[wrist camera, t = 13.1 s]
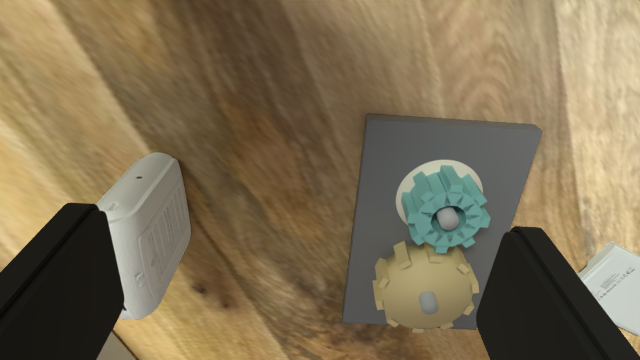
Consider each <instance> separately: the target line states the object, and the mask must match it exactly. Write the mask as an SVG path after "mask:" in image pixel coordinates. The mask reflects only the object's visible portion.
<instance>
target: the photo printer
mask: <svg viewBox="0 0 640 360" xmlns="http://www.w3.org/2000/svg"><path fill="white" fill-rule="evenodd" d="M96 205H97V206H98V208H99V210H100V211H104V212H105V213H106V215H107V219H108V224H109V228H110V233H111V237H112V242H113V246H114V251H115V256H116V260H117V265H118V269H119V274H120V278H121V283H122V288H123V292H124V306H123V310H122V312H121V314H120V316H119V317H120V318H121V319H123V320H124V319H135V320H139V319H141V318H144V317H146V316H148V315H149V314H151V313H152V312H153V311H154V310H155V309H156V308H157V307H158V306H159V304H160V302H161V300H162V298H163V296H164V294H165V292H166V290H167V288H168V286H169V284H170V281H171V279H172V277H173V275H174V273H175V271H176V269H177V267H178V265H179V263H180V261H181V258H182V256H183V254H184V252H185V250H186V248H187V246H188V244H189V242H190V237H191V225H190V217H189V211H188V205H187V199H186V194H185V188H184V182H183V178H182V173H181V169H180V166H179V163H178V161H177V159H175V158H173V157H172V156H170V155H168V154H165V153H161V152H154V153H150V154H148V155H146V156H145V157H144V158H139V159H138V160H137V161H136V162H135V163H134V164H133V165H132V166H131V167H130V168H129V169H128V170H127V171H126V172H125V173H124V174H123V175H122V176H121V178H120V179H119V180H118V181H117V182H116V183H115V184H114V185H113V186H112V187H111V188H110V190H109V191H108V192H107V193H106V194H105V195H104V196H103V197H102V198H101V199H100V200H99V202H98V203H97V204H96Z"/></svg>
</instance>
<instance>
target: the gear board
mask: <svg viewBox="0 0 640 360" xmlns="http://www.w3.org/2000/svg"><path fill="white" fill-rule="evenodd" d="M541 134H542V130H541V129H540V128H538V127H537V126H536V125H532V124H517V123H502V122H487V121H472V120H456V119H441V118H426V117H411V116H395V115H380V114H366V122H365V130H364V138H363V146H362V154H361V163H360V171H359V179H358V187H357V196H356V204H355V212H354V220H353V228H352V237H351V245H350V253H349V261H348V269H347V278H346V286H345V294H344V302H343V311H342V317H343V322H346V323H364V324H381V325H392V326H393V327H397V326H398V325H399V326H405V327H409V328H411V330H412V333H424V330H425V329H431V328H441V329H442V330H445V329H447V328H452V329H469V330H476V328H477V323H476V313H477V310H478V307H479V304H480V301H481V298H482V295H483V292H484V289H485V286H486V283H487V280H488V277H489V275H490V272H491V269H492V266H493V263H494V260H495V257H496V254H497V251H498V248H499V245H500V242H501V239H502V237H503V235H504V233H505V232H509V230H510V227H511V224H512V221H513V218H514V215H515V212H516V209H517V206H518V203H519V200H520V197H521V194H522V191H523V188H524V185H525V182H526V179H527V176H528V173H529V170H530V167H531V164H532V161H533V158H534V155H535V152H536V149H537V146H538V143H539V140H540V137H541ZM441 165H450V166H453V168H454V170H455V171H456V173H457V175H458V176H459V177H461V178H462V177H464V176H465V175H467V174H468V173H469V175H470V176H471V177H472V178H473V179H474V181H475V182H476V184H477V185H478V187H479V189H480V190H481V192H482V193H483V195H484V197H485V198H486V200H487V202H486V203H484V204H483V206H484V208H485V209H486V211H487V213H488V214H489V216H490V218H491V219H490V222H489V225H488V228H485V227H480V228H479V229H478V231H477V232H476V233H475V234H474V235H473V238H474V240H475V243H474V244H472V245H471V246H469V247H467V248H465V247H464V246H463V244H462V243H461V244H458V245H455V246H453V247H451V246H450V247H448V249H447V253H435V251H434V248H433V245H431V244H429V243H427V242H426V241H425V242H423V243H422V244H420V245H419V246H418V245H417V244H416V243H415V241H414V240H413V239H412V237H411V234H410V231H409V227H408V224H407V221H406V217H405V214H404V210H403V207H402V204H401V197H402V192H410V191H411V189H412V188H413V187H414V186H415V182H414V180H413V176H415V175H416V174H418V173H419V172H420V171H422V172H423V173H424V174H425V175H426V176H428V175H430V174H432V173H435V172H436V173H437V172H440V167H441ZM435 213H436V216H437V218H438V221H439V223H440V225H441V227H442V228H443V229H445V230H452V229H454V228H456V227H457V226H458V224H459V218H458V216H457V214H456V212H455V210H454V208H453V206H448V205H447V206H445V207H442V208H440V209H438V210H437V211H436V212H435Z"/></svg>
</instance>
